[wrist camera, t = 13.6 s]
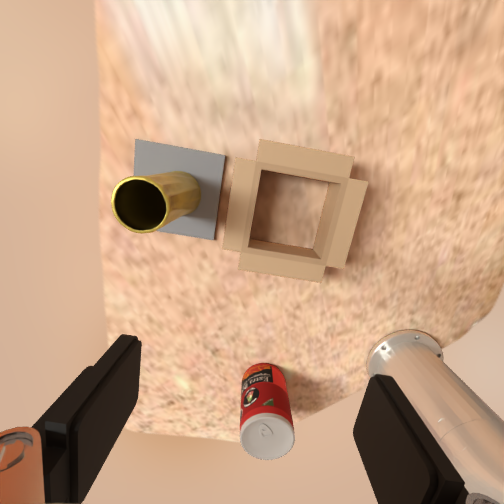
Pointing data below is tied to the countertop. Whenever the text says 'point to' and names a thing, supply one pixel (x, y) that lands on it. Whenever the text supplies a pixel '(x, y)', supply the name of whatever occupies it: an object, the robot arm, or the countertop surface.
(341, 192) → the carton
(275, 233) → the countertop surface
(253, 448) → the canned food
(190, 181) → the vase
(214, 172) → the mat
